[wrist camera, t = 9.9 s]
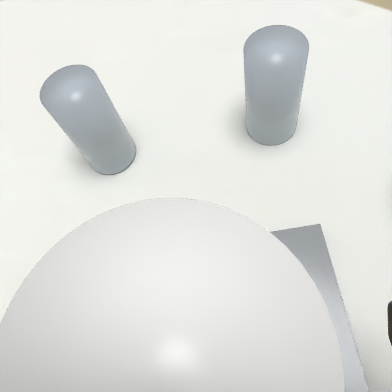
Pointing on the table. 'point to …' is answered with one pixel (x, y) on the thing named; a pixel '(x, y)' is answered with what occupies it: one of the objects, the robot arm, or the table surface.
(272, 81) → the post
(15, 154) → the table surface
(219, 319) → the vial
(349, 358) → the tile
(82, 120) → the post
